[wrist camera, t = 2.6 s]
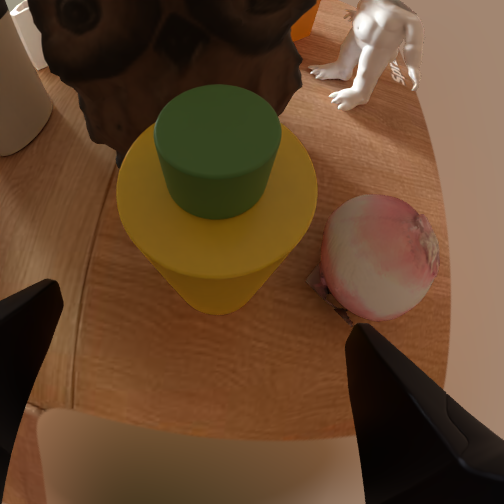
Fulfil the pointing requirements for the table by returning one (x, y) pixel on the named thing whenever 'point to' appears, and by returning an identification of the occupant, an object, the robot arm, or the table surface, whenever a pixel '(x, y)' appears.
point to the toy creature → (374, 49)
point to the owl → (165, 55)
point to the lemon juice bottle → (216, 195)
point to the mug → (28, 34)
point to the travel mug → (18, 90)
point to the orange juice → (304, 23)
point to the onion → (376, 258)
